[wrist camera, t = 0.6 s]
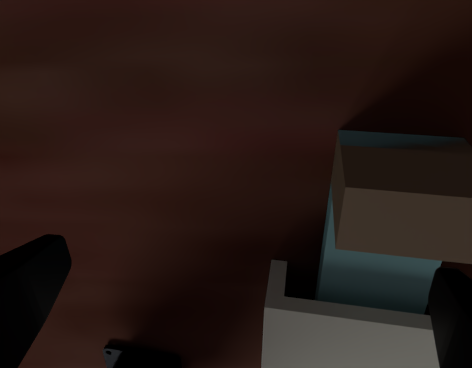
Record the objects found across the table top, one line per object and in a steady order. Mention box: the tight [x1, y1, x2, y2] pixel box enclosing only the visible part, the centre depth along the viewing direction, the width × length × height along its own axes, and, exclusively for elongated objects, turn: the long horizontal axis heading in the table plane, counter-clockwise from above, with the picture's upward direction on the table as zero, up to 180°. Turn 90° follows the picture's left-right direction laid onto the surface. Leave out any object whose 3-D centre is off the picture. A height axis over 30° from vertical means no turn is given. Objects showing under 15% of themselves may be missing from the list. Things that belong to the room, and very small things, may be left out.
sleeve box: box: [261, 260, 440, 368], centre depth 25 cm, size 10×12×4 cm
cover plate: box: [315, 130, 472, 315], centre depth 21 cm, size 16×6×6 cm, turn 0°
